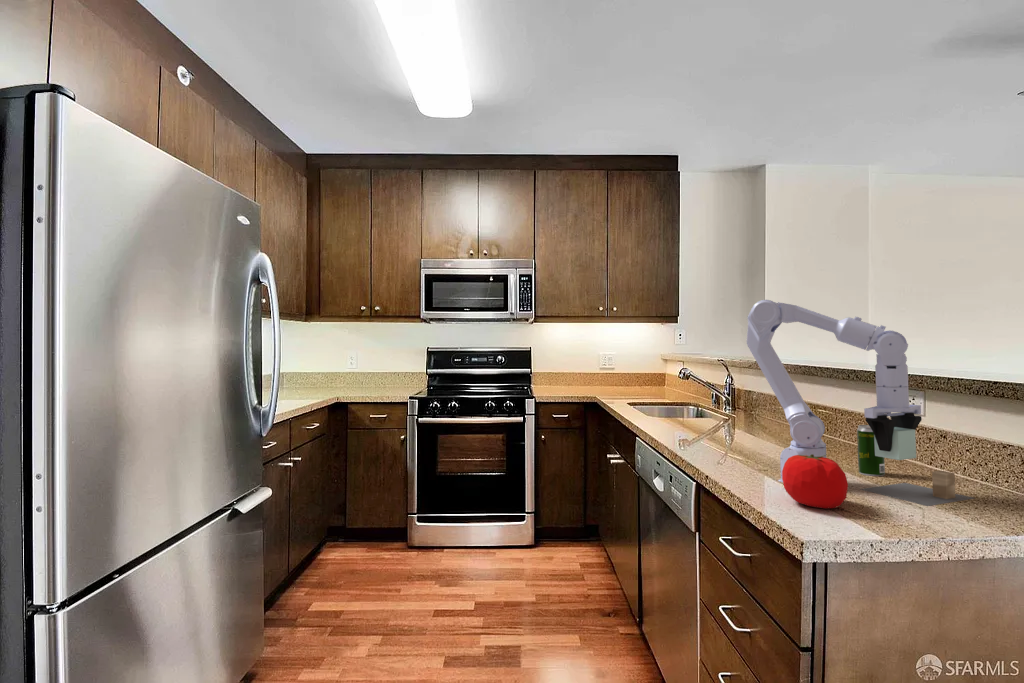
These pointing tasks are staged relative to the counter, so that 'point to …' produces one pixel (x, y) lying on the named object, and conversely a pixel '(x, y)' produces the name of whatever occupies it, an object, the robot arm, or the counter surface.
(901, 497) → the rubber mat
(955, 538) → the counter surface
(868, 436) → the beer can
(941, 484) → the beech post
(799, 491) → the tomato
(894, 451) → the pale green block
